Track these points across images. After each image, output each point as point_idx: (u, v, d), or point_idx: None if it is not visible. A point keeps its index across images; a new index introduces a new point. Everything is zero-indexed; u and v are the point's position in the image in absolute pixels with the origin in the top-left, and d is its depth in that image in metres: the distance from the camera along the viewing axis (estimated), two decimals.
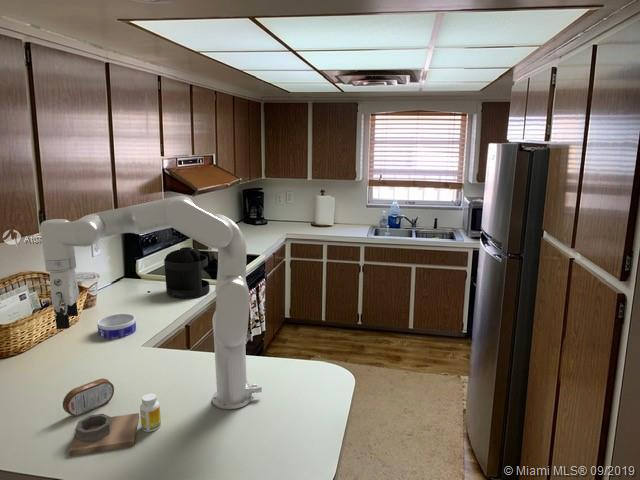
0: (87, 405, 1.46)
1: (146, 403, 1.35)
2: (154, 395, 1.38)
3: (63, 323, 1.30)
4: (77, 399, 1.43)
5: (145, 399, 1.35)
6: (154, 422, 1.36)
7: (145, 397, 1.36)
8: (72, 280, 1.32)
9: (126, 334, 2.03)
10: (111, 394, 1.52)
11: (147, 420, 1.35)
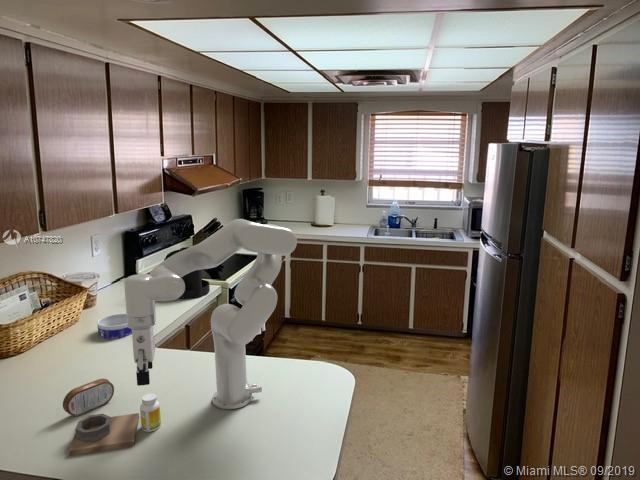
0: (87, 405, 1.46)
1: (146, 403, 1.35)
2: (154, 395, 1.38)
3: (144, 380, 1.29)
4: (77, 399, 1.43)
5: (145, 399, 1.35)
6: (154, 422, 1.36)
7: (145, 397, 1.36)
8: (152, 335, 1.32)
9: (126, 334, 2.03)
10: (111, 394, 1.52)
11: (147, 420, 1.35)
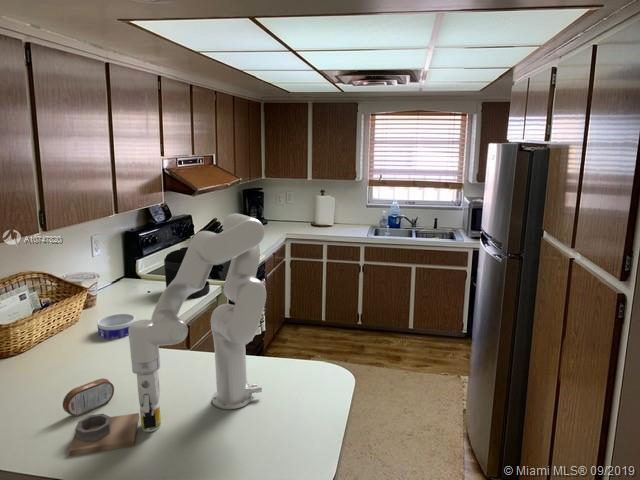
0: (87, 405, 1.46)
1: None
2: None
3: (151, 423, 1.34)
4: (77, 399, 1.43)
5: None
6: None
7: None
8: (157, 379, 1.35)
9: (126, 334, 2.03)
10: (111, 394, 1.52)
11: None
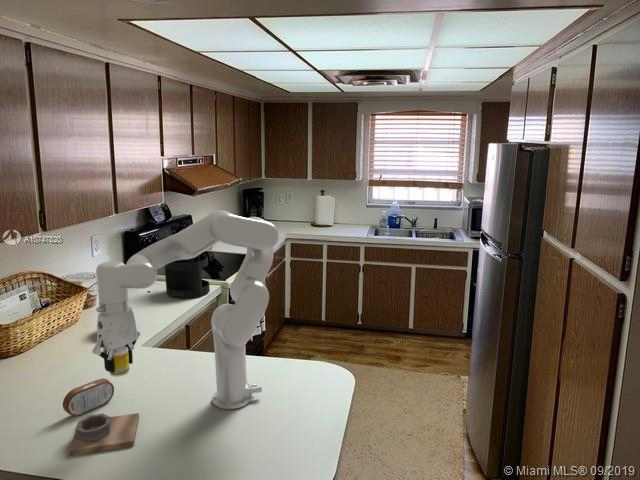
0: (87, 405, 1.46)
1: None
2: None
3: (107, 367, 1.31)
4: (77, 399, 1.43)
5: None
6: None
7: None
8: (118, 325, 1.30)
9: None
10: (111, 394, 1.52)
11: None
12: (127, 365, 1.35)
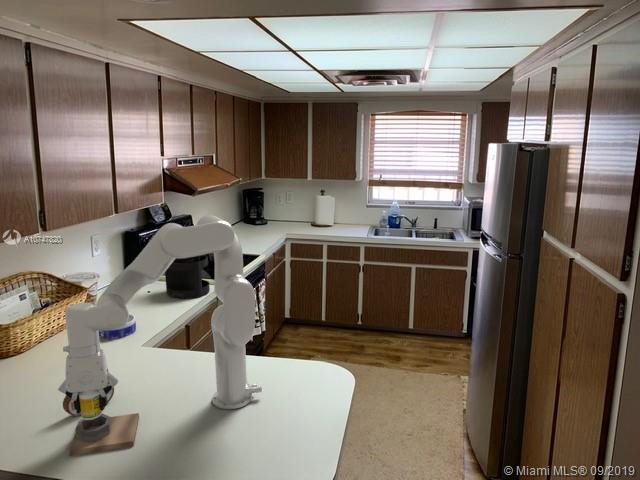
0: None
1: None
2: None
3: None
4: None
5: None
6: None
7: None
8: (79, 369, 1.26)
9: (126, 334, 2.03)
10: (111, 394, 1.52)
11: None
12: (92, 411, 1.30)
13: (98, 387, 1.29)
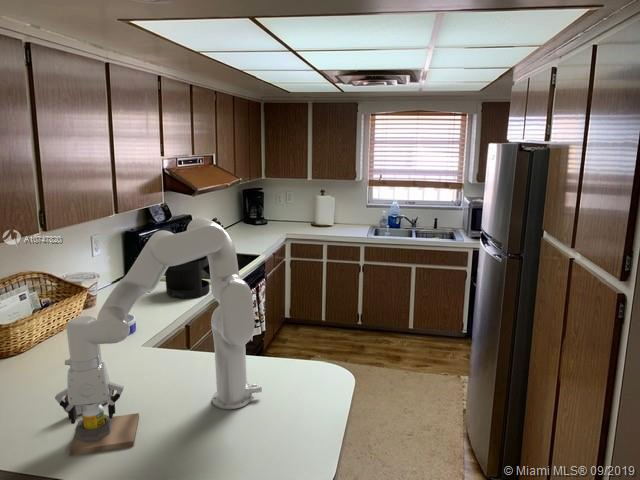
0: None
1: None
2: None
3: None
4: None
5: None
6: (84, 427, 1.32)
7: None
8: (80, 383, 1.27)
9: None
10: None
11: None
12: (95, 428, 1.31)
13: (100, 400, 1.29)
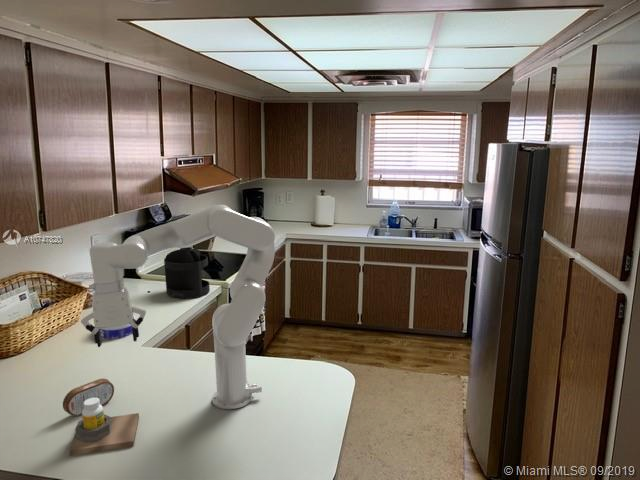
0: None
1: None
2: (92, 403, 1.30)
3: None
4: (77, 399, 1.43)
5: (88, 399, 1.32)
6: (84, 427, 1.32)
7: (92, 399, 1.33)
8: (105, 305, 1.33)
9: (126, 334, 2.03)
10: (111, 394, 1.52)
11: None
12: (95, 428, 1.31)
13: (124, 322, 1.35)
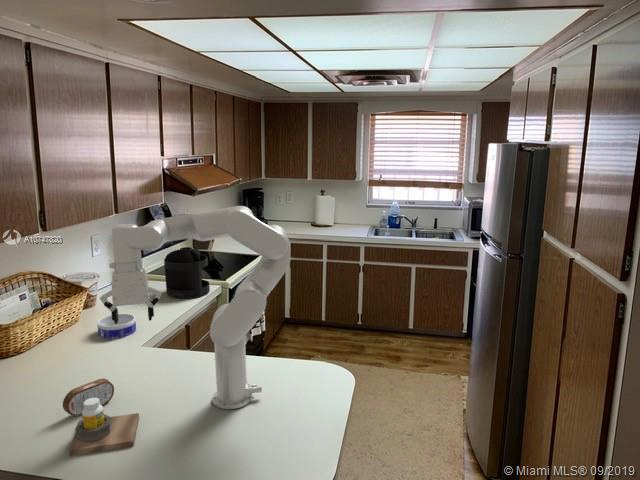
0: None
1: None
2: (92, 403, 1.30)
3: None
4: (77, 399, 1.43)
5: (88, 399, 1.32)
6: (84, 427, 1.32)
7: (92, 399, 1.33)
8: (124, 284, 1.39)
9: (126, 334, 2.03)
10: (111, 394, 1.52)
11: None
12: (95, 428, 1.31)
13: (141, 301, 1.41)
